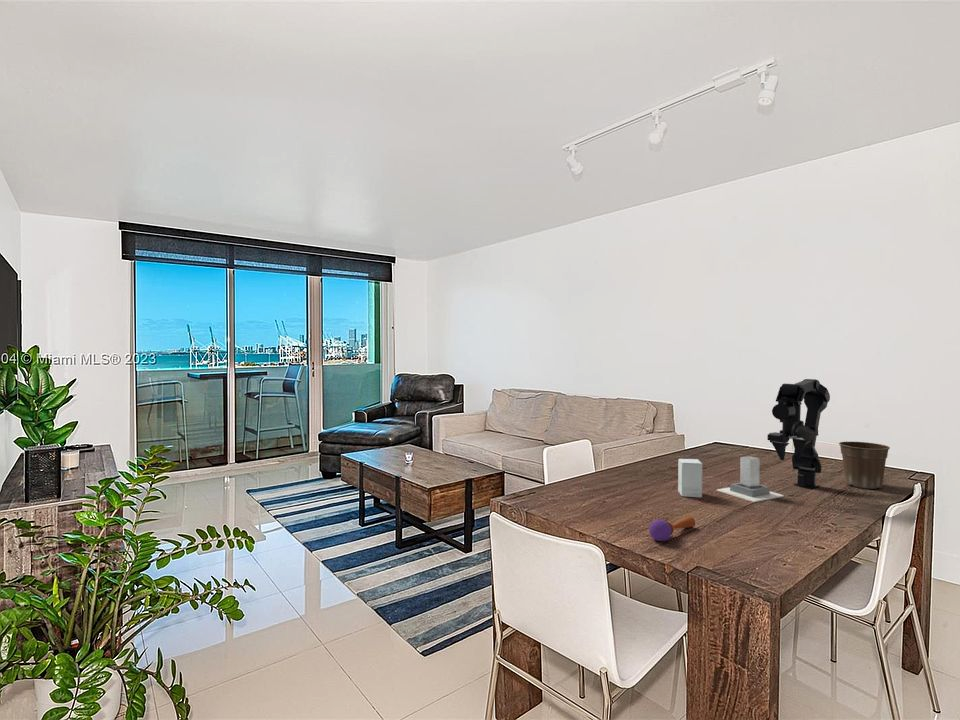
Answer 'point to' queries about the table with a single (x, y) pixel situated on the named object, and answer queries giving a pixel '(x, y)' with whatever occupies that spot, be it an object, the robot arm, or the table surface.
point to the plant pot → (864, 464)
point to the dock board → (750, 492)
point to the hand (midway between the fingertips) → (790, 459)
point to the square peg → (749, 472)
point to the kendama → (668, 528)
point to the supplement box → (690, 477)
